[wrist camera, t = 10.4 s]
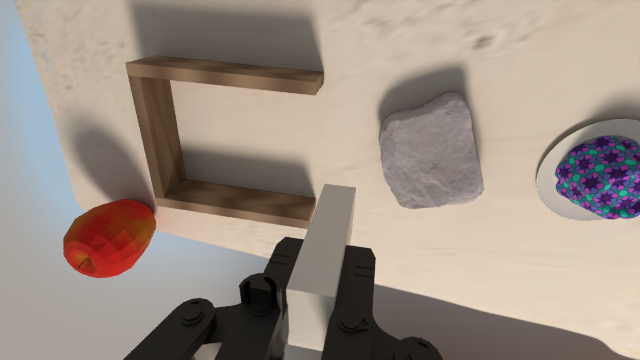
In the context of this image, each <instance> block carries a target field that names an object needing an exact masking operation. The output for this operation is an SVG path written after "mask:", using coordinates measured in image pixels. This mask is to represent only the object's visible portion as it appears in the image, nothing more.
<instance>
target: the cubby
mask: <svg viewBox="0 0 640 360" xmlns="http://www.w3.org/2000/svg"><path fill="white" fill-rule="evenodd" d="M125 64H126V69H127V73H128V78H129V82H130V87H131V91H132V96H133V100H134V105H135V109H136V114H137V118H138V123H139V127H140V132H141V136H142V141H143V145H144V150H145V154H146V159H147V163H148V168H149V172H150V177H151V181H152V186H153V190H154V194H155V199H156V203H157V206H163V207H169V208H176V209H182V210H189V211H195V212H201V213H208V214H214V215H221V216H227V217H233V218H240V219H246V220H253V221H259V222H265V223H272V224H278V225H285V226H291V227H297V228H304V229H308V227H309V224H310V221H311V218H312V215H313V212H314V209H315V204H316V198H310V197H303V196H296V195H289V194H282V193H275V192H269V191H262V190H255V189H248V188H241V187H234V186H227V185H220V184H213V183H206V182H199V181H192V180H186V178H185V172H184V166H183V160H182V154H181V148H180V141H179V135H178V129H177V123H176V117H175V111H174V105H173V98H172V92H171V86H170V80H176V81H186V82H195V83H204V84H214V85H223V86H232V87H242V88H251V89H260V90H270V91H279V92H288V93H298V94H307V95H316V93H317V92H318V91H319V89H320V88H321V86H322V85H323V83H324V72H317V71H307V70H296V69H286V68H276V67H266V66H256V65H245V64H235V63H225V62H215V61H205V60H195V59H184V58H174V57H164V56H152V57H148V58H144V59H140V60H135V61H131V62H127V63H125Z"/></svg>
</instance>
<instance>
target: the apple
mask: <svg viewBox="0 0 640 360" xmlns="http://www.w3.org/2000/svg"><path fill="white" fill-rule="evenodd" d="M155 229H156V221H155V218H154V215H153V213H152V210H151V209H150V208H149V207H147V206H146V205H144V204H142V203H140V202H137V201H133V200H129V199H121V200H117V201H114V202H110V203H107V204H103V205H100V206H97V207H94V208H93V209H91V210H89V211H88V212H86V213H84V214H83V215H81V216H79V217H78V218H76V219H75V220H74V222H73V223H72V225H71V227H70V228H69V230H68V232H67V233H66V235H65V236H64V256H65V258H66V260H67V262H68V263H69V264H70V265H71V266H72V267H73V268H74V269H75V270H77V271H78V272H80V273H82V274H84V275H88V276H90V277H96V278H106V277H113V276H116V275H119V274H121V273H123V272H124V271H126V270H128V269H130V268H132V266H133V265H134V264H135V263H136V261H137V260H138V259H139V258H140V256H141V255H142V254H143V253H144V251H145V249H146V248H147V247H148V245H149V243H150V240H151V238H152V236H153V233H154V231H155Z"/></svg>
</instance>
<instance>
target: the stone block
mask: <svg viewBox="0 0 640 360" xmlns="http://www.w3.org/2000/svg"><path fill="white" fill-rule="evenodd" d="M379 144H380V146H381V153H382V154H381V160H382V168H383V173H384V177H385V180H386V182H387V184H388V185H389V187H390V188H391V191H392V193H393V194H394V195H395V197H396V199H397V201H398V203H399V204H400V205H401V206H402V207H406V208H410V209H417V208H431V207H441V206H444V205H457V204H465V203H468V202H471V201H474V200H475V199H476V198H477V197H478V195H481V194H482V192H483V191H484V187H483V179H482V174H481V168H480V163H479V159H478V154H477V150H476V146H475V141H474V136H473V130H472V118H471V113H470V109H469V107H468V104H467V103H466V101H465V99H464V98H463V96H462V95H460V94H459V93H455V92H453V93H445V94H443V95H440V96H439V97H437V98H435V99H433V100H432V101H429V102H427V103H425V104H424V105H423V106H421V107H418V108H413V109H405V110H401V111H398V112H394V113H392V114H391V115H390V116H389V117H388V118H386V119H385V120H384V122H383V124H382V127H381V130H380V135H379Z"/></svg>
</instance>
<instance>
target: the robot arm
mask: <svg viewBox="0 0 640 360" xmlns="http://www.w3.org/2000/svg"><path fill="white" fill-rule="evenodd" d="M355 191H356V188H355V187H346V186H338V185H329V184H324V187H323V190H322V193H321V195H320V198H319V201H318V204H317V206H316V209H315V212H314V214H313V217H312V220H311V223H310V225H309V228H308V231H307V233H306V236H305V239H297V238H290V237H285V238H284V239H282V240H281V241H280V242H279V243H278V244H277V245H276V247H275V249H274V251H273V254H272V256H271V258H270V260H269V263H268V264H267V266H266V268H265V271H264V273H258V274H254V275H250V276H249V277H247V278H246V279H244V280H243V281H242V282H241V284H240V285H239V288H240V295H241V303H240V304H237V305H233V306H226V307H218V308H214V306H213V304H212V303H211V302H210V301H208V300H207V299H202V298H196V299H191V300H188V301H186V302H183V303H182V304H181V305H179V306H178V307H177V308H176V309H175V310H173V311H172V313H170V314H169V315H168V316H167V317H166V318H165V319H164V320H163V321H162V322H161V323H160V324H159V325H158V326H157V327H156V328H155V329H154V330H153V331H152V332H151V333H150V334H149V335H148V336H147V337H146V338H145V339H144V340H143V341H142V342H141V343H140V344H139V345H138V346H137V347H136V348H135V349H134V350H132V351H131V353H130V354H128V355H127V356H126V357H125V358H124V359H123V360H284V347H285V344H286V341H287V338H288V344H289V345H295V346H299V347H304V348H310V349H314V350H320V351H323V352H322V357H321V360H443V359H442V357H441V355H440V353H439V352H438V350H437V349H436V348H435V347H434V346H433V345H432V344H431V343H430V342H428V341H426V340H424V339H422V338H417V337H408V338H404V339H402V340H399V339H396V338H395V337H393V336H391V335H389V334H387V333H386V332H384V331H383V330H382V329H381V328H380V327H379V326H378V325H377V323H376V322H375V320H374V318H373V312H372V307H373V291H374V276H375V261H376V258H375V256H374V254H373V252H372V250H371V248H364V247H357V246H350V240H351V234H352V224H353V213H354V202H355Z"/></svg>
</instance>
